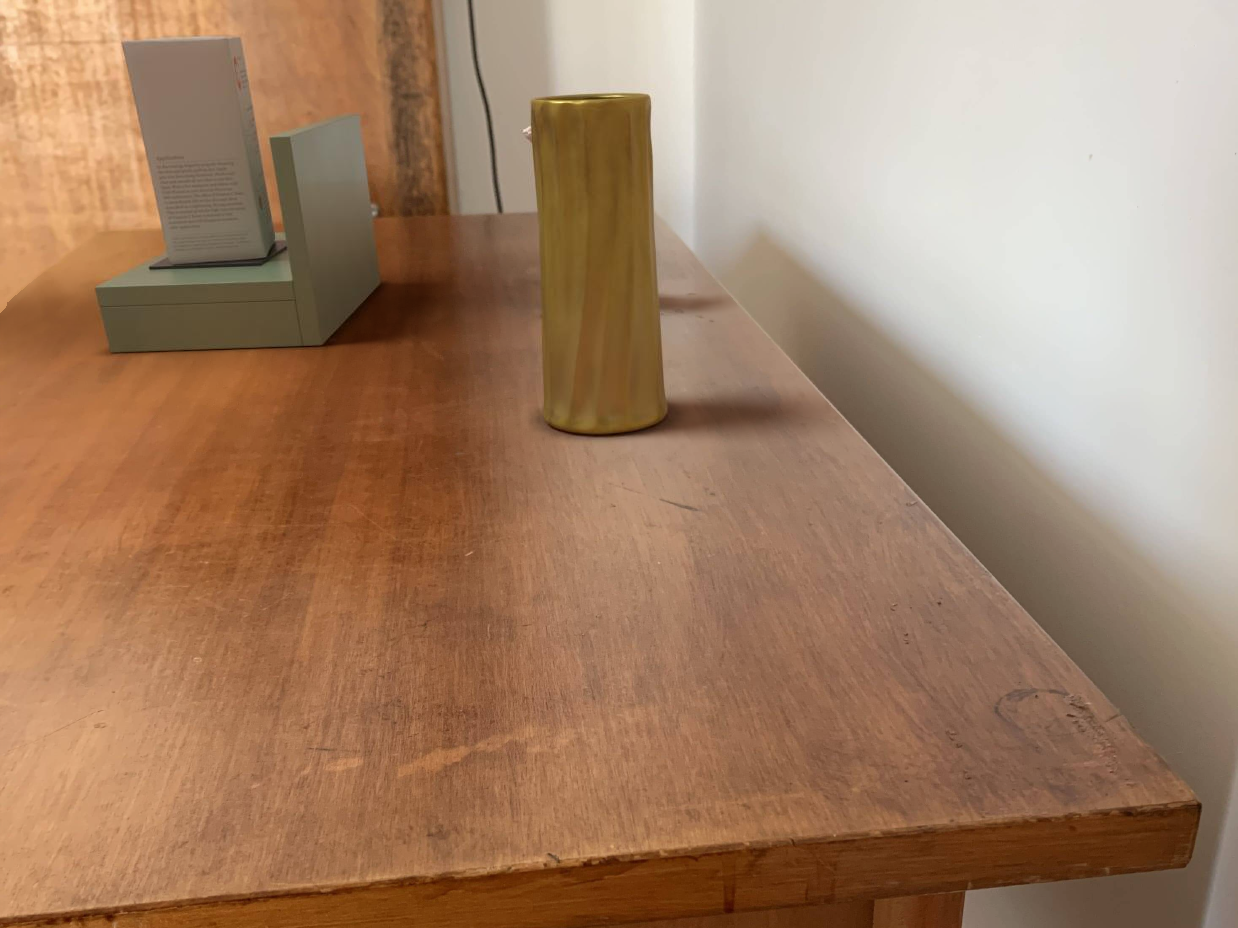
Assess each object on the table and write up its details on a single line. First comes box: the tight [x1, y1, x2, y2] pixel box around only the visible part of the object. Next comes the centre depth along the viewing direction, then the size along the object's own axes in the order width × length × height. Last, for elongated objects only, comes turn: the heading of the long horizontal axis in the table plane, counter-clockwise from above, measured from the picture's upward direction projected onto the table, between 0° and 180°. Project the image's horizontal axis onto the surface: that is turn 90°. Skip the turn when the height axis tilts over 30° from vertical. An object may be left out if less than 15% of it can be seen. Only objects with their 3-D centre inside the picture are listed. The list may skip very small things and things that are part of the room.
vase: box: [530, 92, 669, 435], centre depth 54 cm, size 6×6×14 cm
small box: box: [120, 35, 276, 265], centre depth 76 cm, size 8×6×13 cm
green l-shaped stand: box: [94, 113, 381, 354], centre depth 78 cm, size 13×20×12 cm, turn 1°
